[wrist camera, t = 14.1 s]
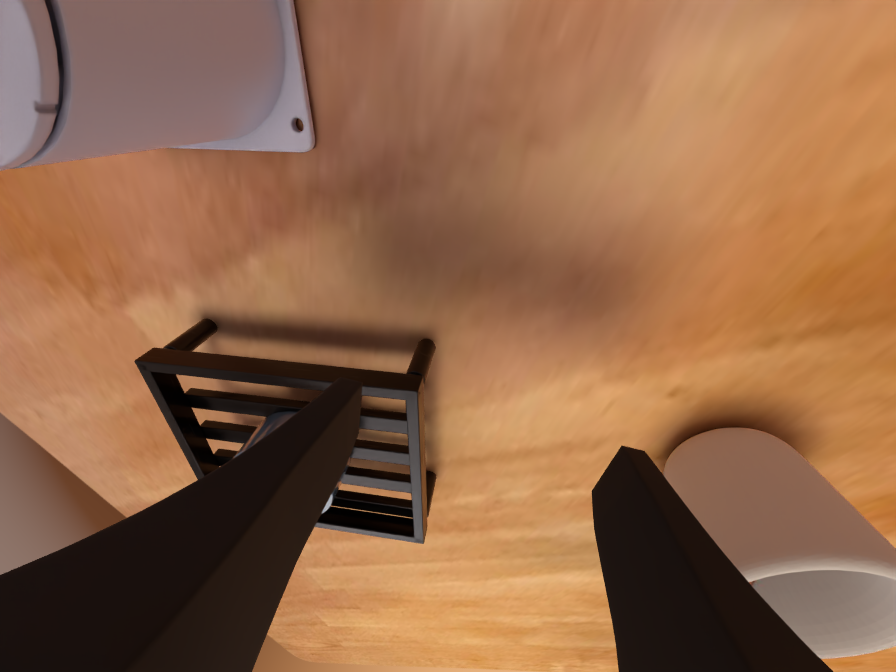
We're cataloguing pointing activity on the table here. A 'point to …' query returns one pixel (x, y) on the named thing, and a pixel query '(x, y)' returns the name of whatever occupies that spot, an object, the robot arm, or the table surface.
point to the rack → (192, 436)
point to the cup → (791, 538)
